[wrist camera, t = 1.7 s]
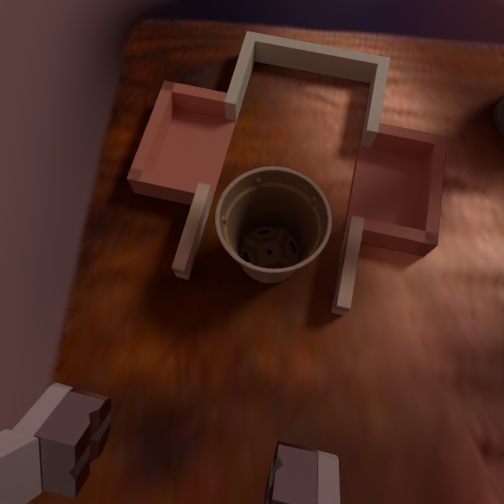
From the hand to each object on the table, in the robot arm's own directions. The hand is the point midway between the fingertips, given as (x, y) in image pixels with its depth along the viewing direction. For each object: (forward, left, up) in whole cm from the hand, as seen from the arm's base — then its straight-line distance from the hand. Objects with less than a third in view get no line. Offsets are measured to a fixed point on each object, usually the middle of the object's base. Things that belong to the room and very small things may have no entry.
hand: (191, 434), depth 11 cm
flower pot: (-13, -9, -28) cm, 32 cm away
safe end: (-28, -19, -27) cm, 44 cm away
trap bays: (-21, -14, -27) cm, 37 cm away
